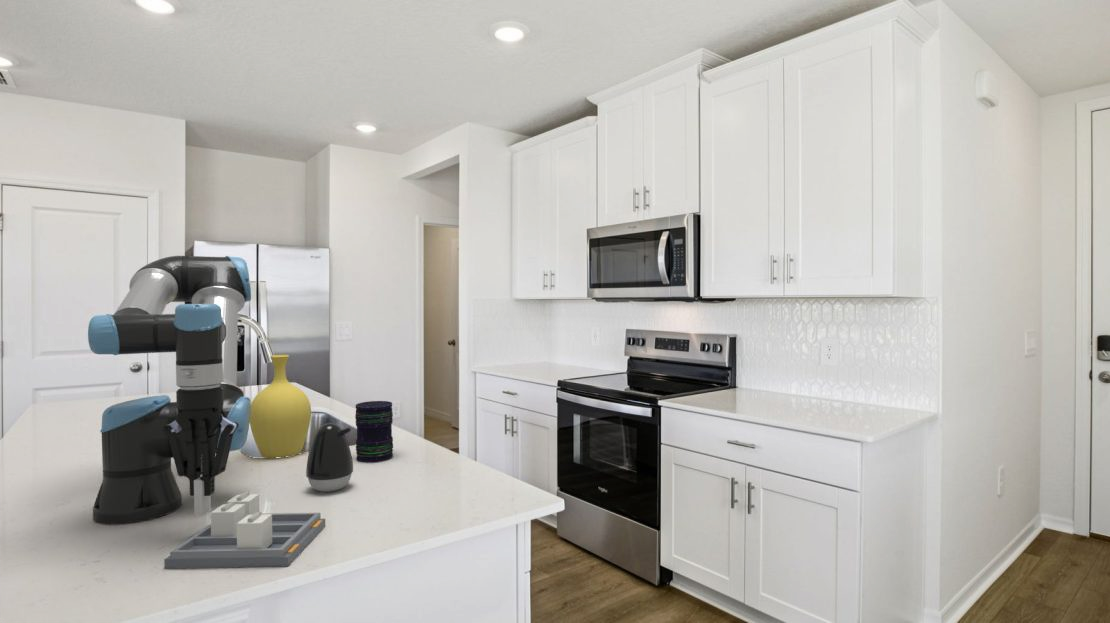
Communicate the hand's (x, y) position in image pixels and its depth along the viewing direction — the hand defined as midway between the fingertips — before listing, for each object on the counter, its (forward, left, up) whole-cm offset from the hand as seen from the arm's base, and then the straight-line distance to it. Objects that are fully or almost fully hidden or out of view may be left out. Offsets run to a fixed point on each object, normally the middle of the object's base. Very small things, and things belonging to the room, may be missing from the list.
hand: (202, 512), depth 111 cm
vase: (-11, +58, -4) cm, 59 cm away
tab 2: (+7, 0, -2) cm, 8 cm away
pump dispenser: (+14, +26, -4) cm, 30 cm away
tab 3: (+15, -11, -2) cm, 18 cm away
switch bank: (+11, -5, -4) cm, 13 cm away
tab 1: (+7, -5, -2) cm, 9 cm away
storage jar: (+17, +52, -4) cm, 55 cm away
